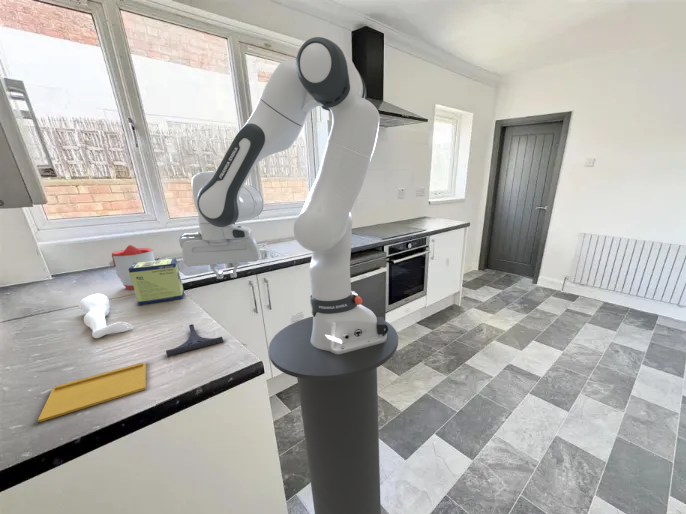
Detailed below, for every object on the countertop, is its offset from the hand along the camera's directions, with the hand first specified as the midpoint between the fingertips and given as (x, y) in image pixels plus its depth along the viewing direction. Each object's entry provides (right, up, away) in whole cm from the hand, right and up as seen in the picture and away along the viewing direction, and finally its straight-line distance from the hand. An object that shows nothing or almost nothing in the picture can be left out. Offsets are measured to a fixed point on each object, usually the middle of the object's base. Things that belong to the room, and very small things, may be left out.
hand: (227, 277), depth 93 cm
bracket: (-12, -20, +3) cm, 23 cm away
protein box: (-47, -8, +39) cm, 62 cm away
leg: (-53, -15, +18) cm, 58 cm away
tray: (-21, -28, -20) cm, 40 cm away
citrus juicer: (-69, -3, +54) cm, 88 cm away
